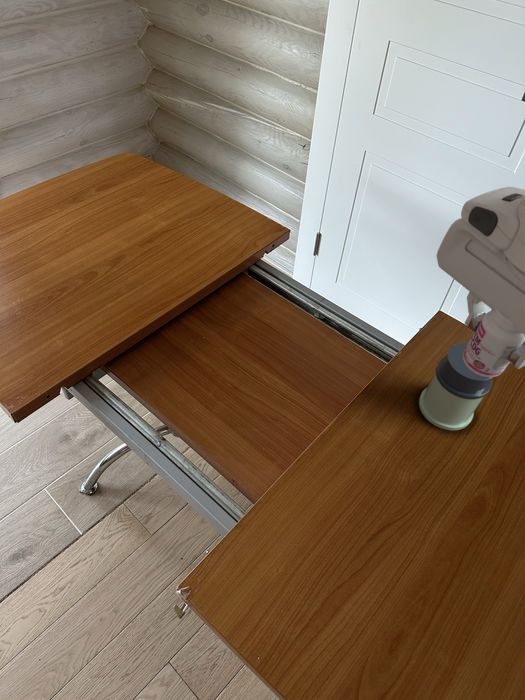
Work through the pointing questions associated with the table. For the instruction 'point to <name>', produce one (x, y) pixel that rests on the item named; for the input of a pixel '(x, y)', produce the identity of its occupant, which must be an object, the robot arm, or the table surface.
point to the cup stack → (453, 392)
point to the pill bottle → (492, 345)
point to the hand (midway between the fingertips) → (493, 343)
